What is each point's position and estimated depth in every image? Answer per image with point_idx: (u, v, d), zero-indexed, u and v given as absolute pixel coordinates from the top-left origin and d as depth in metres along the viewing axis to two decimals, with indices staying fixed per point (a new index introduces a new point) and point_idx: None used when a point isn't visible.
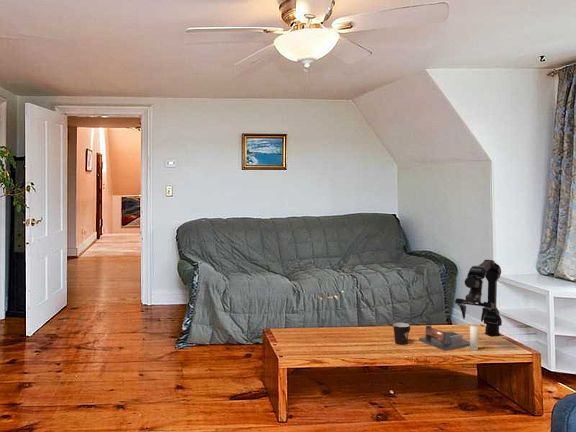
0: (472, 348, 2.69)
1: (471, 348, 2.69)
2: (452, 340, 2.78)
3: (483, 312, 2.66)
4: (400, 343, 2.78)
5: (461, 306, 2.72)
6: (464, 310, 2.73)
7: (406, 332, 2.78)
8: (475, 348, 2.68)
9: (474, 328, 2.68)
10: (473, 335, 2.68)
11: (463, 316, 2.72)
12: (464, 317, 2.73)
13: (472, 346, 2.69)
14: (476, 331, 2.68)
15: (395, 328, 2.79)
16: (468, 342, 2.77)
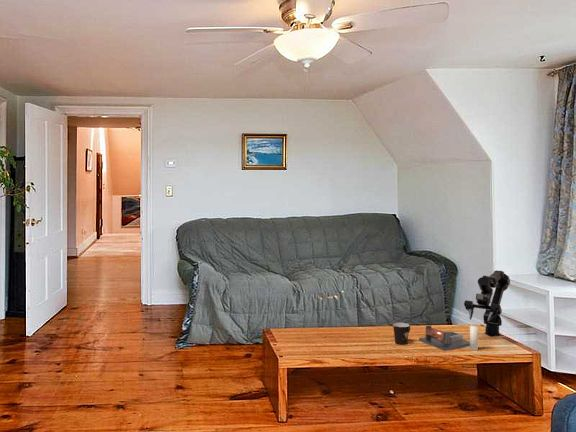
0: (472, 348, 2.69)
1: (471, 348, 2.69)
2: (452, 340, 2.78)
3: (491, 313, 2.74)
4: (400, 343, 2.78)
5: (469, 306, 2.81)
6: (471, 312, 2.81)
7: (406, 332, 2.78)
8: (475, 348, 2.68)
9: (474, 328, 2.68)
10: (473, 335, 2.68)
11: (470, 316, 2.79)
12: None
13: (472, 346, 2.69)
14: (476, 331, 2.68)
15: (395, 328, 2.79)
16: (468, 342, 2.77)
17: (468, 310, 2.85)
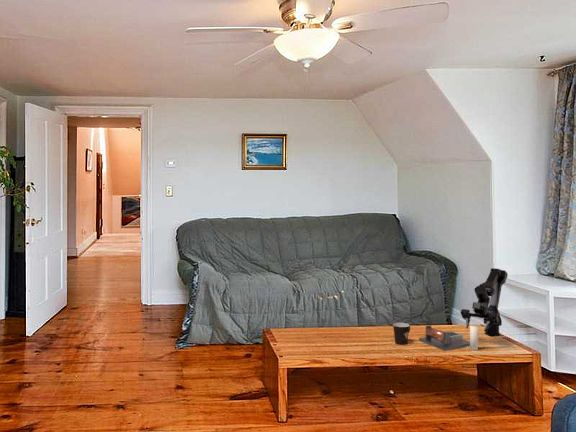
0: (472, 348, 2.69)
1: (471, 348, 2.69)
2: (452, 340, 2.78)
3: (487, 322, 2.70)
4: (400, 343, 2.78)
5: (466, 315, 2.77)
6: (468, 321, 2.77)
7: (406, 332, 2.78)
8: (475, 348, 2.68)
9: (474, 328, 2.68)
10: (474, 335, 2.68)
11: (466, 325, 2.75)
12: (467, 327, 2.75)
13: (472, 346, 2.69)
14: (476, 331, 2.68)
15: (395, 328, 2.79)
16: (468, 342, 2.77)
17: (465, 319, 2.81)
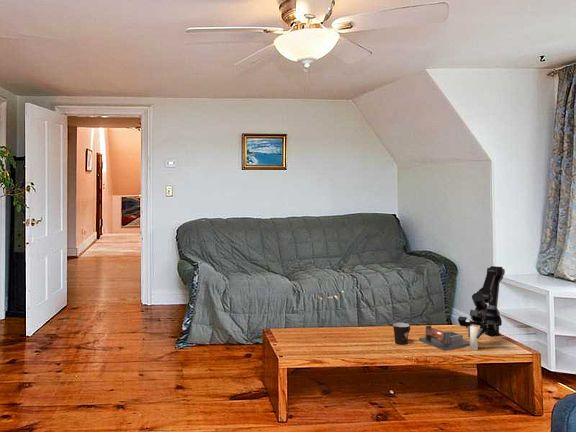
0: (472, 348, 2.69)
1: (471, 348, 2.69)
2: (452, 340, 2.78)
3: (480, 329, 2.69)
4: (400, 343, 2.78)
5: (468, 323, 2.73)
6: None
7: (406, 332, 2.78)
8: (475, 348, 2.68)
9: (474, 328, 2.68)
10: (473, 335, 2.68)
11: (468, 333, 2.70)
12: (469, 335, 2.70)
13: (472, 346, 2.69)
14: (476, 331, 2.68)
15: (395, 328, 2.79)
16: (468, 342, 2.77)
17: (467, 327, 2.77)
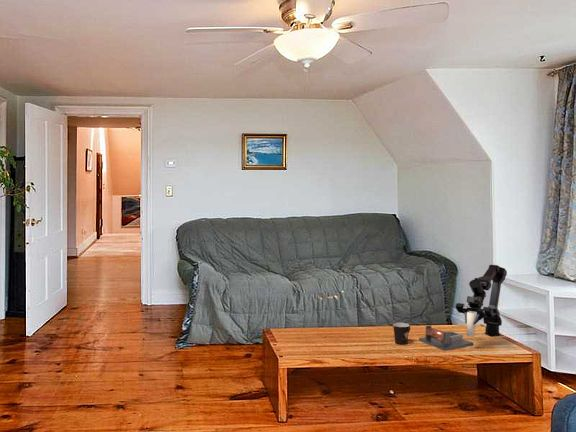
0: (469, 334, 2.70)
1: (468, 334, 2.70)
2: (452, 340, 2.78)
3: (477, 315, 2.69)
4: (400, 343, 2.78)
5: (465, 310, 2.74)
6: None
7: (406, 332, 2.78)
8: (472, 334, 2.69)
9: (471, 314, 2.69)
10: (470, 321, 2.69)
11: (465, 320, 2.71)
12: (466, 321, 2.72)
13: (468, 332, 2.70)
14: (473, 317, 2.69)
15: (395, 328, 2.79)
16: (468, 342, 2.77)
17: (464, 313, 2.78)
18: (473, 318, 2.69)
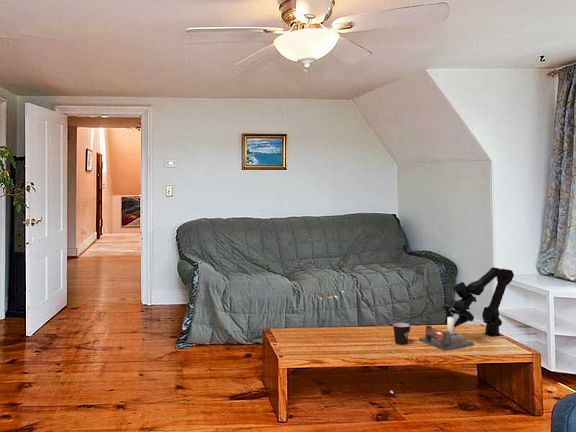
0: None
1: None
2: (452, 340, 2.78)
3: (458, 318, 2.79)
4: (400, 343, 2.78)
5: (447, 311, 2.87)
6: None
7: (406, 332, 2.78)
8: None
9: (449, 319, 2.81)
10: (449, 326, 2.81)
11: (445, 321, 2.85)
12: (446, 322, 2.85)
13: None
14: (451, 322, 2.80)
15: (395, 328, 2.79)
16: (468, 342, 2.77)
17: None
18: (452, 323, 2.80)
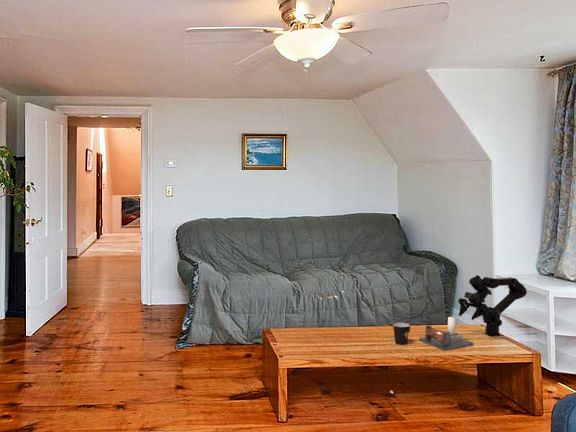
0: None
1: None
2: (452, 340, 2.78)
3: (476, 311, 2.83)
4: (400, 343, 2.78)
5: (461, 304, 2.93)
6: (463, 309, 2.92)
7: (406, 332, 2.78)
8: None
9: (450, 319, 2.81)
10: (449, 326, 2.81)
11: (459, 313, 2.91)
12: (460, 314, 2.91)
13: None
14: (452, 322, 2.80)
15: (395, 328, 2.79)
16: (468, 342, 2.77)
17: None
18: (452, 323, 2.80)
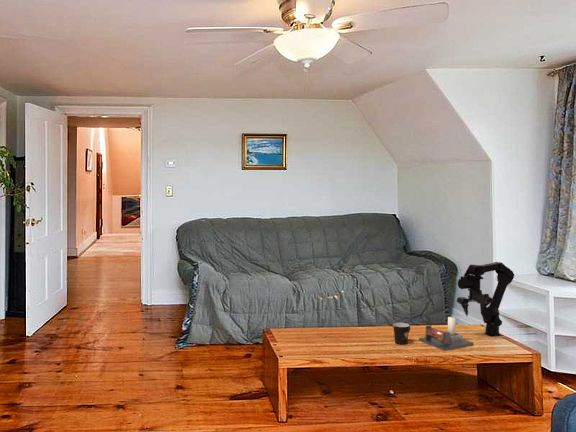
0: None
1: None
2: (452, 340, 2.78)
3: (484, 307, 2.89)
4: (400, 343, 2.78)
5: (467, 305, 2.86)
6: None
7: (406, 332, 2.78)
8: None
9: (450, 319, 2.81)
10: (449, 326, 2.81)
11: (467, 313, 2.88)
12: None
13: None
14: (452, 322, 2.80)
15: (395, 328, 2.79)
16: (468, 342, 2.77)
17: (460, 303, 2.90)
18: (452, 323, 2.80)
